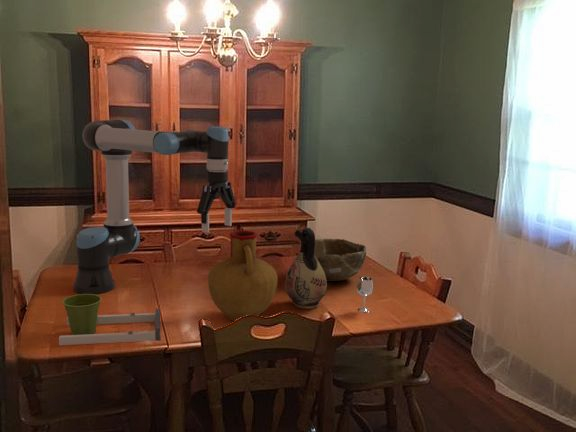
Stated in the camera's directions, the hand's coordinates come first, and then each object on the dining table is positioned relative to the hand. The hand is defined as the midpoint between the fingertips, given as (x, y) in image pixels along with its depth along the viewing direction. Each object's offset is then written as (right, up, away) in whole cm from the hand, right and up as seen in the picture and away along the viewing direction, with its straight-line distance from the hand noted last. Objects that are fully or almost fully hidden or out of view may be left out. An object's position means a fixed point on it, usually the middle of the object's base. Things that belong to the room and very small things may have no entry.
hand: (216, 228), depth 226 cm
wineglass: (+53, -30, +1) cm, 61 cm away
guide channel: (-31, -33, -25) cm, 51 cm away
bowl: (+45, -23, +37) cm, 62 cm away
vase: (+10, -31, -10) cm, 34 cm away
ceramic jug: (+32, -29, +4) cm, 43 cm away
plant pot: (-39, -33, -27) cm, 58 cm away
